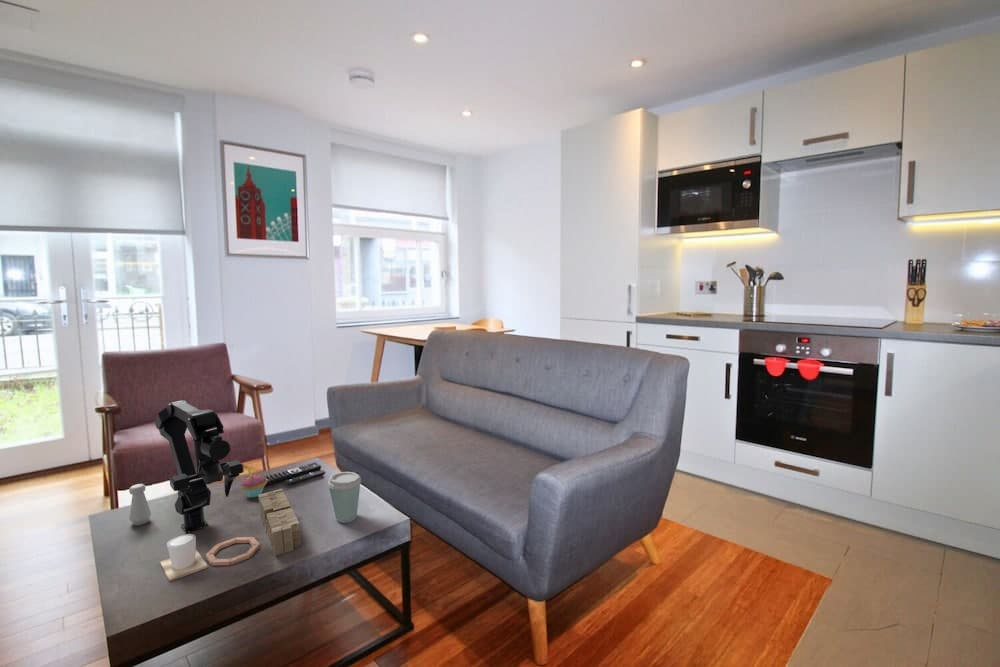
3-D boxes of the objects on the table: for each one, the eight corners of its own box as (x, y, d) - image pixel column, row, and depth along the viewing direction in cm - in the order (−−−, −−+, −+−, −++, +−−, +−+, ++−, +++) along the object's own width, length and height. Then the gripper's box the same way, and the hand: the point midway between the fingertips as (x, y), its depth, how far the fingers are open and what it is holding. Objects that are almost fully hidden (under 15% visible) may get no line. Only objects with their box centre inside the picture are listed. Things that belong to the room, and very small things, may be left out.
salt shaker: (125, 525, 161) (121, 488, 160) (143, 517, 167) (138, 480, 165) (139, 528, 159) (134, 490, 158) (155, 519, 165) (151, 482, 163)
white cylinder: (192, 553, 143) (190, 531, 142) (202, 561, 139) (199, 538, 138) (165, 564, 138) (162, 541, 137) (174, 573, 133) (171, 549, 133)
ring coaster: (202, 552, 144) (202, 549, 144) (249, 535, 154) (249, 532, 153) (215, 571, 135) (214, 567, 135) (264, 551, 144) (264, 548, 144)
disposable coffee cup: (357, 507, 171) (355, 466, 169) (367, 520, 162) (365, 477, 160) (326, 516, 165) (323, 474, 163) (335, 530, 156) (332, 485, 154)
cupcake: (237, 499, 178) (234, 468, 177) (250, 489, 187) (247, 459, 185) (260, 499, 178) (258, 468, 177) (272, 489, 186) (269, 459, 185)
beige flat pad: (160, 563, 139) (160, 561, 139) (196, 550, 146) (196, 548, 145) (169, 582, 131) (169, 579, 131) (207, 567, 137) (207, 565, 137)
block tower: (302, 551, 147) (284, 509, 171) (300, 524, 145) (283, 486, 169) (273, 559, 142) (259, 515, 166) (271, 532, 141) (258, 492, 165)
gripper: (175, 468, 136) (181, 521, 138) (247, 450, 149) (251, 499, 151) (166, 458, 144) (172, 508, 146) (235, 442, 157) (240, 488, 159)
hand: (210, 501), depth 150 cm, fingers open, 9 cm apart
